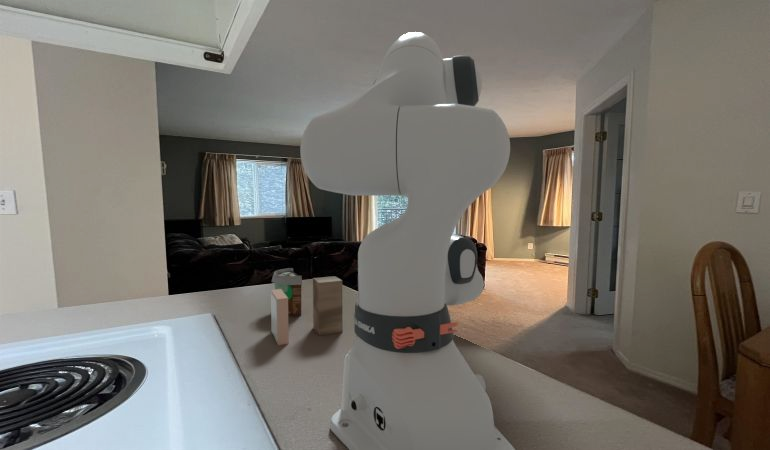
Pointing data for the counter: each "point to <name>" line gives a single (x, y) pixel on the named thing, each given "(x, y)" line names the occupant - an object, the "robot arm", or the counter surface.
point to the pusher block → (327, 305)
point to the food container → (289, 289)
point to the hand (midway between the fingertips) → (372, 297)
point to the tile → (279, 316)
